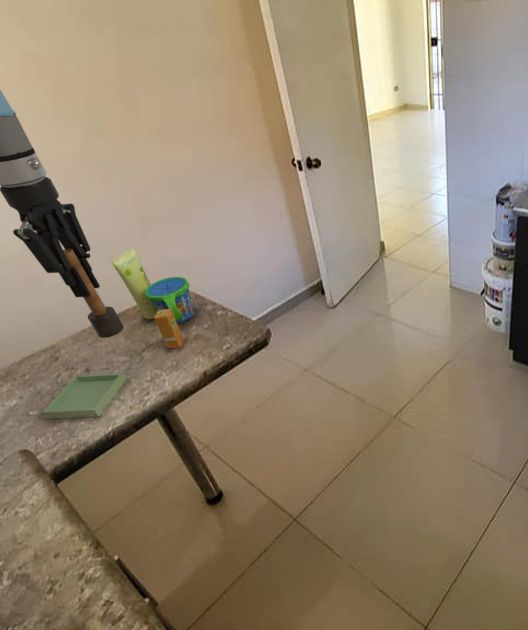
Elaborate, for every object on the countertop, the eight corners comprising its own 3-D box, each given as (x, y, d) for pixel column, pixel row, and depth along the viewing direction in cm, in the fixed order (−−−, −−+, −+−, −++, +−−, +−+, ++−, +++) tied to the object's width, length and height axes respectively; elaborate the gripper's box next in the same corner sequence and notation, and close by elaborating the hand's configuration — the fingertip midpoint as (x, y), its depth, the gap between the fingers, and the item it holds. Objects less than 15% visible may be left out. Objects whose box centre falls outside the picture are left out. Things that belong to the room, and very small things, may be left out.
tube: (163, 317, 122) (133, 256, 110) (143, 323, 120) (110, 261, 109) (163, 307, 126) (134, 247, 115) (144, 312, 124) (112, 252, 113)
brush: (93, 338, 95) (43, 257, 84) (106, 324, 99) (60, 246, 88) (116, 337, 95) (69, 256, 84) (128, 323, 99) (85, 245, 88)
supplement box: (182, 347, 111) (166, 315, 105) (168, 349, 110) (151, 317, 104) (185, 339, 113) (170, 308, 107) (171, 341, 113) (156, 309, 107)
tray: (47, 418, 93) (42, 412, 92) (80, 381, 102) (75, 375, 101) (99, 416, 93) (94, 409, 91) (126, 379, 102) (122, 373, 101)
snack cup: (161, 307, 126) (146, 277, 120) (200, 298, 129) (187, 268, 123) (158, 338, 114) (142, 306, 108) (201, 326, 117) (187, 295, 111)
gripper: (11, 196, 71) (82, 312, 85) (72, 166, 84) (125, 272, 98) (-34, 198, 71) (45, 314, 85) (34, 168, 84) (92, 273, 98)
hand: (88, 291), depth 91 cm, fingers closed on brush, 3 cm apart
